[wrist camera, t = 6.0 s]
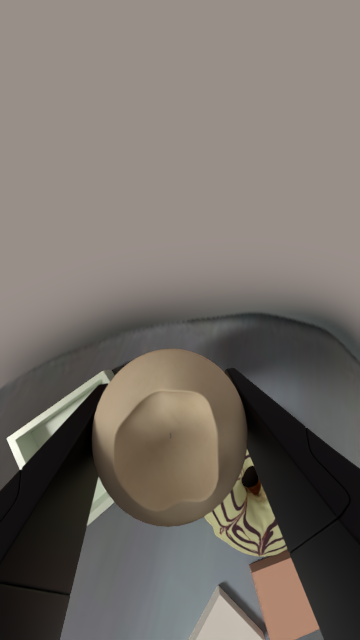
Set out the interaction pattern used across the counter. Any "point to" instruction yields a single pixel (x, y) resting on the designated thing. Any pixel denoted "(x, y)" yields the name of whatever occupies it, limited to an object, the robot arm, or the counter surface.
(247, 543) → the decorated donut
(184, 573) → the counter surface
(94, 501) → the tray
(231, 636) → the tile white
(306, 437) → the robot arm
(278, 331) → the counter surface
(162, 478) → the candle
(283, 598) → the tile terracotta
